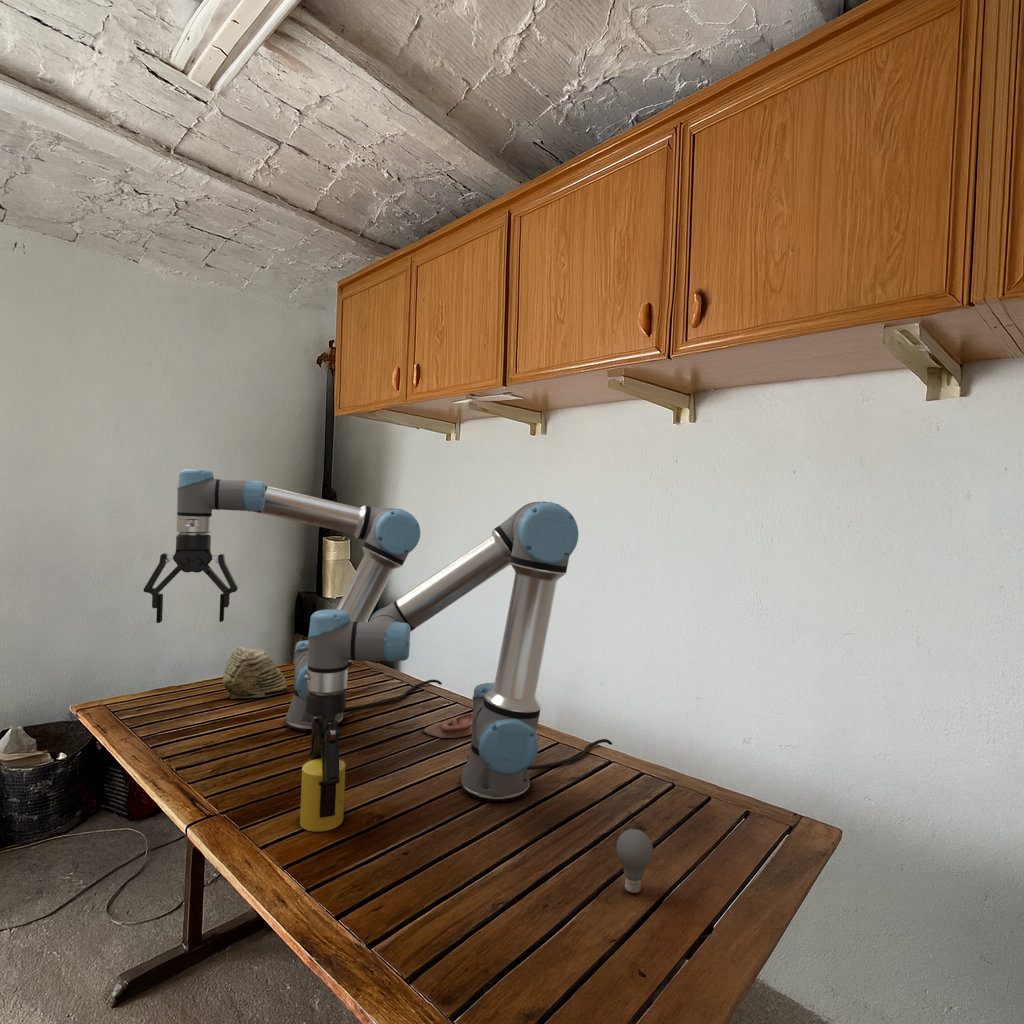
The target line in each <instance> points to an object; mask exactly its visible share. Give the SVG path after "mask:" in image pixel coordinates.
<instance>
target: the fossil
mask: <svg viewBox="0 0 1024 1024" xmlns="http://www.w3.org/2000/svg"><path fill="white" fill-rule="evenodd" d="M222 676H223V677H222V685H223V687H224V688H225V690H226V691H228V693H229V698H230V699H250V698H264V697H271V696H275V695H281V694H284V693H285V691H286V689H287V687H288V686H287V680H286V678H285V676H284V674H283V673H282V672H281V669H279V668H278V667H277V665H276V663H275V662H274V660H273V659H272V658H271V657H270V656H269V655H268V654H267V653H266V652H265V650H264V649H263V648H260V647H258V648H251V647H247V646H246V647H245V646H238V647H237V648H236V649H235V650H233V651H232V653H231V656H230V657H229V659H228V660H227V663H226V666H225V668H224V671H223V675H222Z"/></svg>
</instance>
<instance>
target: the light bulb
mask: <svg viewBox="0 0 1024 1024" xmlns="http://www.w3.org/2000/svg"><path fill="white" fill-rule="evenodd" d="M615 849H616V854H617V857H618V859H619V861H620V863H621V865H622V867H623V873H624V874H623V875H624V876H625V878H624V888H625V890H627V891H628V892H630V893H634V894H635V893H639V892H640V891H641V889H642V887H641V886H642V879H643V877H644V875H645V871H646V868H647V867H648V866H649V864H650V863H651V861H652V859H653V855H654V847H653V843H652V841H651V838H649V836H648V835H647V834H646V833H645V832H643V831H642V830H641V829H636V828H629V829H627V830H625V831H623V832H622V833H621V834H620V835H619V837H618V839H617V841H616V847H615Z"/></svg>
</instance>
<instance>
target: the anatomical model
mask: <svg viewBox="0 0 1024 1024" xmlns="http://www.w3.org/2000/svg"><path fill="white" fill-rule="evenodd" d="M472 719H473V712H468V713H464V714H461V715H457V716H454V717H452V718H448V719H446V720H443V721H439V722H435V723H433V724H430V725H429V726H427V727H425V728H424V730H423V733H424V734H427V735H430V736H432V737H436V738H442V739H448V738H449V739H451V738H461V737H466V736H469V735H472Z"/></svg>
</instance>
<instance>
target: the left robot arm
mask: <svg viewBox="0 0 1024 1024" xmlns="http://www.w3.org/2000/svg"><path fill="white" fill-rule="evenodd" d="M176 489H177V498H176V499H177V500H176V501H177V503H176V504H177V505H176V506H177V508H176V510H177V511H176V530H175V531H176V532H177V533H178V534H176V536H175V537H176V538H175V551H174V554H171V553H167V552H163V553H161V554H160V555H159V563H158V564H157V565H156V568H155V569H154V571H153V573H152V574H151V576H150V578H149V579H148V581H147V583H146V584H145V586H144V588H143V592H144V593H148V594H150V595H151V596H152V597H151V608H152V609H156V616H155V617H156V620H155V623H156V624H160V623H162V622H163V609H164V608H163V607H164V593H160V592H162V590H163V589H164V588H165V587H167V585H168V584H169V583H170V582H171V581H172V580H173V579H174V578H175V577H177V576H178V574H179V573H180V572H184V573H195V574H196V573H197V574H198V573H202V572H203V573H204V574H205V575H207V576H208V578H209V579H210V580H211V581H212V582H213V583H214V584H215V586H216V587H217V588H218V589H219V590H220V591H221V592H222V593H221V594H220V596H219V619H218V620H219V623H223V622H224V620H225V608H229V607H230V596H231V594H232V593H236V592H237V591H238V589H239V586H238V585H237V583H236V581H235V579H234V577H233V575H232V573H231V571H230V569H229V566H228V565H227V562H226V556H225V554H224V553H219V554H212V551H211V550H212V549H211V548H212V536H211V532H212V521H213V520H212V519H213V513H212V512H213V510H216V511H220V510H221V511H238V512H239V511H241V512H252V513H257V514H262V515H267V516H272V517H275V518H279V519H285V520H289V521H293V522H298V523H302V524H306V525H311V526H316V527H320V528H325V529H330V530H333V531H337V532H343V533H346V534H347V533H348V534H351V535H353V536H354V537H355V538H356V539H357V540H362V541H364V543H363V545H362V551H363V557H362V559H361V561H360V563H359V565H358V567H357V569H356V570H355V573H354V574H353V576H352V578H351V580H350V582H349V583H348V586H347V587H346V590H345V592H343V593H344V594H343V595H342V597H341V599H340V601H339V603H338V605H337V607H336V608H335V609H336V610H344V611H347V612H348V613H349V616H350V621H354V622H369V619H370V618H371V616H372V613H373V611H374V609H375V607H376V605H377V603H378V601H379V599H380V598H381V596H382V593H383V592H384V590H385V588H386V586H387V584H388V582H389V580H390V578H391V576H392V574H393V572H394V571H395V570H396V569H398V568H401V567H403V565H404V564H405V562H406V560H407V558H408V556H409V554H410V553H411V552H412V551H413V550H415V548H416V547H417V545H418V544H419V542H420V539H421V527H420V523H419V522H418V519H417V518H416V517H415V516H414V515H413V514H412V513H410V512H409V511H407V510H404V509H402V508H394V507H393V508H391V507H388V508H387V507H374V506H369V505H362V506H361V507H359V506H354V505H350V504H345V503H341V502H336V501H334V500H333V501H332V500H329V499H324V498H320V497H317V496H311V495H307V494H303V493H298V492H293V491H290V490H285V489H282V488H278V487H273V486H269V485H266V484H265V482H264V481H260V480H259V481H258V480H253V479H252V480H251V479H248V480H246V479H220V478H215V477H214V472H213V471H212V470H207V469H205V470H203V469H187V468H186V469H181V470H180V471H179V473H178V484H177V488H176ZM172 560H173V562H175V564H176V567H175V568H174V569H173V570H172V571H171V572H169V574H168V575H167V576H166V577H165V578H164V579H163V580H162V581H161V582H160V583H159V584H158V585H157V586H155V587H154V585H155V584H156V582H157V581H158V580H159V578H160V575H161V574H162V573H163V570H164V569H165V567H166V565H167V564H169V563H170V562H171V561H172ZM212 561H214V562H215V564H218V566H219V568H220V570H221V572H222V574H223V576H224V578H225V580H226V582H227V585H226V583H225V582H224V581H223V580H222V579H221V577H219V576H218V575H217V573H216V572H214V570H213V568H212V567H211V565H209V564H210V563H211V562H212ZM228 585H229V587H228ZM294 649H295V650H293V651H294V672H293V673H294V674H293V675H294V676H293V695H292V696H293V697H292V699H291V702H290V704H289V708H288V711H287V713H286V715H285V726H286V728H287V729H289V730H291V731H294V732H295V731H296V732H301V733H312V722H313V714H310V713H309V712H308V711H307V710H306V697H307V692H308V691H309V690H308V689H307V680H305V679H304V678H305V677H304V676H305V675H308V639H307V640H300V641H298V642H297V643H295V648H294ZM353 663H354V661H352V660H348V663H347V664H348V671H349V670H350V669H351V666H352V664H353ZM432 683H436V684H438V685H443V683H442V681H440V680H438V679H429V680H425V681H423V682H420V683H416V684H414V685H413V686H411V687H410V688H409V689H408V690H406V691H405V692H404V693H403V694H401V695H398V696H396V697H394V698H393V697H392V698H388V699H383V700H380V701H374V702H370V703H369V702H368V703H364V704H360V705H353V706H346V708H345V710H344V711H342V712H340V713H338V714H336V715H335V721H336V720H337V721H338V727H339V726H340V725H342V723H343V722H344V714H343V712H346V711H353V710H359V709H364V708H365V709H366V708H370V707H376V706H381V705H384V704H390V703H393V702H396V701H399V700H402V699H403V698H406V696H408V695H409V694H410V693H411V692H413V691H414V690H415V689H417V688H419V687H423V686H425V685H429V684H432Z"/></svg>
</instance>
